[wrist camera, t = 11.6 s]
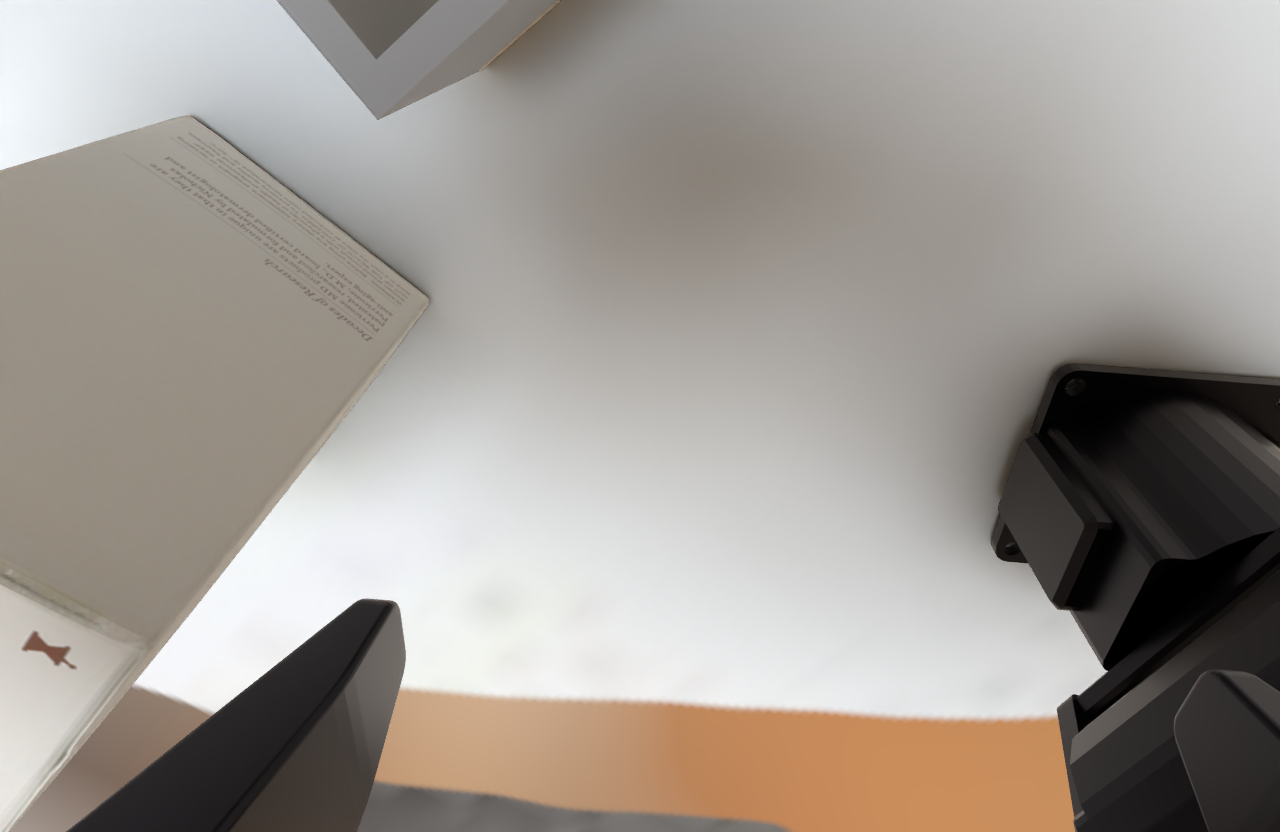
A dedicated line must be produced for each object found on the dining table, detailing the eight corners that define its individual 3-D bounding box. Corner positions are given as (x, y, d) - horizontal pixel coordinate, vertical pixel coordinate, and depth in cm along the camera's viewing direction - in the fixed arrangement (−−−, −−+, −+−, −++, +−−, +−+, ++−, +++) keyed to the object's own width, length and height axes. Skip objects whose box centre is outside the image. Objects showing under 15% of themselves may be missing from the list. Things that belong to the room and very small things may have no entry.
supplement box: (187, 102, 19) (-523, 290, 8) (439, 299, 21) (163, 663, 10) (75, 310, 22) (-554, 658, 11) (305, 463, 24) (-19, 881, 13)
